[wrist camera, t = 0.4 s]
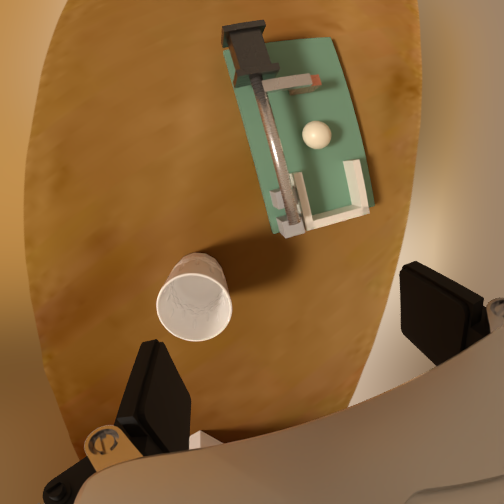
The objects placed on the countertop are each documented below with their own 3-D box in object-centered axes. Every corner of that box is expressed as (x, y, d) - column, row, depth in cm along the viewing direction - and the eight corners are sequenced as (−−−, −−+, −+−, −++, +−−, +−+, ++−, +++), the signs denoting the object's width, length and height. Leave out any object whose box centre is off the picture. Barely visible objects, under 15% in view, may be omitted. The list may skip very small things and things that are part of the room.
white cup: (238, 265, 40) (246, 295, 30) (209, 312, 41) (209, 352, 31) (186, 237, 38) (177, 259, 28) (159, 286, 39) (144, 320, 30)
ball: (295, 125, 35) (303, 121, 31) (321, 120, 35) (331, 116, 31) (302, 152, 36) (311, 150, 32) (328, 147, 36) (339, 145, 32)
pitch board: (223, 53, 32) (224, 39, 28) (328, 39, 33) (339, 27, 28) (272, 232, 39) (279, 240, 35) (371, 204, 40) (387, 209, 35)
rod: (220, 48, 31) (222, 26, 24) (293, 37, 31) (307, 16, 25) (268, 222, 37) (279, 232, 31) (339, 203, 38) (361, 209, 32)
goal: (287, 173, 36) (293, 174, 33) (349, 159, 37) (359, 159, 34) (300, 226, 38) (306, 231, 35) (359, 210, 39) (369, 213, 36)
